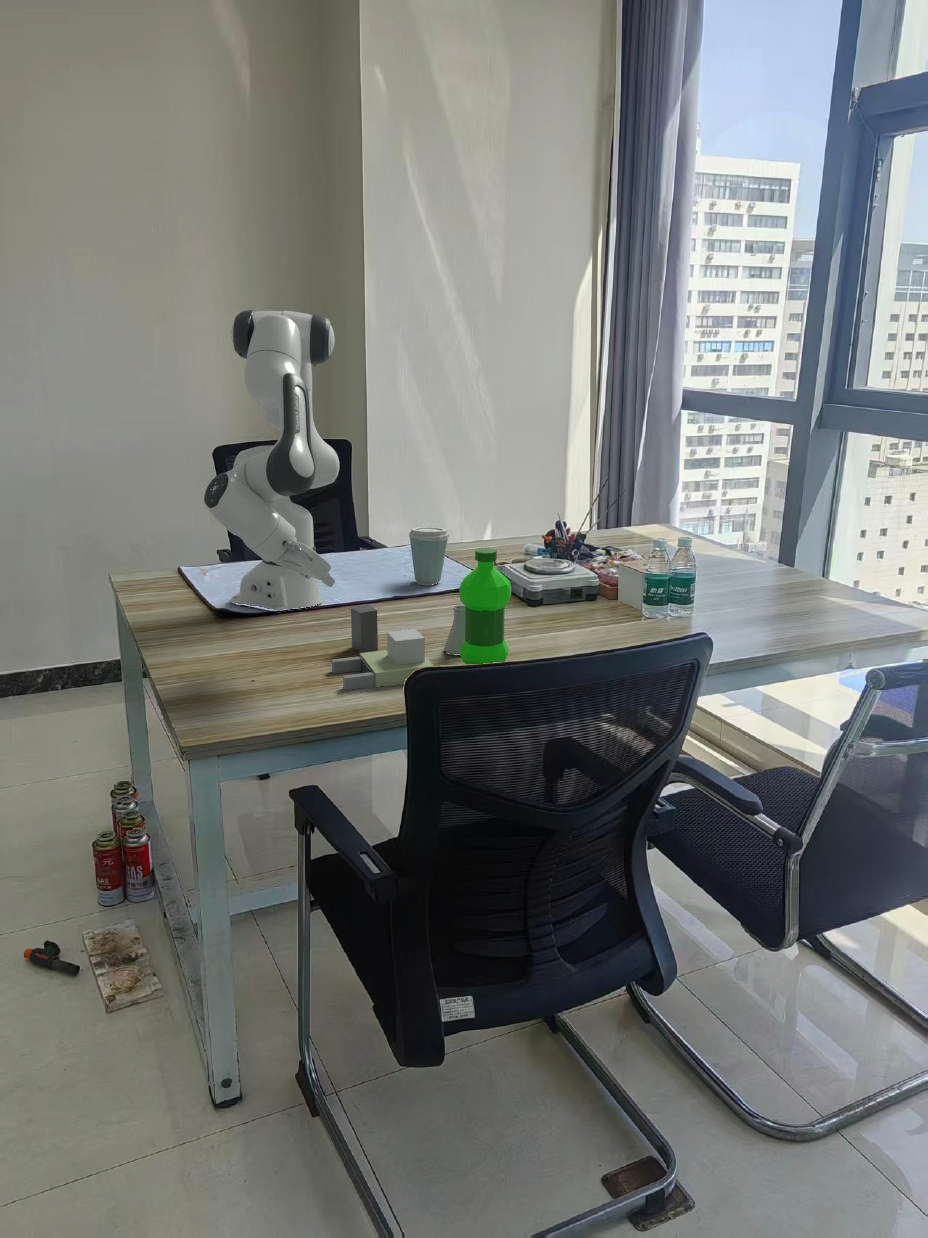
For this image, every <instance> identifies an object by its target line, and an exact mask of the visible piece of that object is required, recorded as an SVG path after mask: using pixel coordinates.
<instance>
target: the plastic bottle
mask: <svg viewBox="0 0 928 1238" xmlns="http://www.w3.org/2000/svg"><path fill="white" fill-rule="evenodd" d="M497 554H498V550H497V549H495V548H490V547H480V548H477V549H475V551H474V558H475V561H477V567H475V568H474V569H473V570H472V571H470V572H469V573H468V574H467V575H466V576H465V577H464V578H463V580H462V581H461V583H460V585H459V588H458V594H459V595H458V596H459V601H460V603H462V605H465V606H466V614H465V641H464V643H463V645H462V648H461V650H460V656H459V657H460V658H461V660H462V662H463V663H464V664H465V665H466V664H483V663H493V662H505V663H506V661H507V657H508V655H509V647H508V643H507V641H506V640H505V608H506V607H507V605H508V604H509V602H510V599H511V596H512V584H511V582H510V580H509V579H508V578H507V577H506V576H505V575H504V574H503V573H502V572H500V571H499V570H498V569H496V567H495V562H496V561H497V560H498V557H497V556H498V555H497Z"/></svg>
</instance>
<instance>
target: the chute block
mask: <svg viewBox="0 0 928 1238" xmlns="http://www.w3.org/2000/svg"><path fill="white" fill-rule="evenodd" d="M350 617H351V618H350V619H351V620H350V622H351V623H350V624H351V648H353V649H354V650H356V651H357V652H359V654H360V653H366V652H375V651H379V643H378V642H379V638H378V637H379V636H378V634H379V633H378V632H379V631H378V610H377V609H376V608H374V607H372V606H371V605H368V604H365V605H360V606H359V605H357V606H352V607H350Z"/></svg>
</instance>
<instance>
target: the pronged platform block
mask: <svg viewBox="0 0 928 1238" xmlns="http://www.w3.org/2000/svg"><path fill="white" fill-rule="evenodd" d="M425 639H426V638H425V637H424V636H423V635H422V634H421V632H419V631H418V629H416V628H411V629H401V630H392V631H387V632H386V641H387V644H386V646H387V647H386V648H387V650H386V649H385V650H375V651H370V652H365V653H360V652H359V656H352V657H344V658H343V657H341V658H335V659H331V672H332V673H333V675H335V674H343V673H351V672H358V671H359V672H360V671H361V672H362V673H356V674H354V673H353V674H346V675H343V676H342V686H343V689H344V691H351V690H352V689H353V690H358V688H361V689H367V688H381V687H380V686H384V687H391V686H398V684H400V685H404V684H403V683H404V682H405V679H406V678H408V676H409V675H411V673H412V672H413V671H415V670H417V669H419V668H421V667H427V666H434V667H435V665H434V664H433V663H432V662H431V660H429V659H428V658H427V657H426V655H425V654H426V653H425V652H426V647H425V644H426V643H425V642H426V640H425ZM374 686H376V687H374Z"/></svg>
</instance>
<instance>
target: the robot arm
mask: <svg viewBox="0 0 928 1238" xmlns="http://www.w3.org/2000/svg"><path fill="white" fill-rule="evenodd" d="M230 333H231V335H230V336H231V342H232V345H233V348H234V352H236V354H237V355H238V356H239V357H241V358H242V359H245V368H244V383H245V388H246V390H247V392H248V394H249V395H250V396H251V397H252V398H253V399H254V400H255V401H256V402H258V403H260V404H262V405H263V416H264V419H265V421H266V423H268V425H269V426H271V427H272V428H274V429H276V430H277V431H279V438H278V440H276V443H275V444H274V445H272V444H271V445H259V446H254V447H250V448H248V449H244V450H242V451H239V453H238V454H237V455H236V457H235V458H234V462H233V468H232V469H230V470H228V471H226V472H221V473H218V474H217V475H216V476H214V477H213V478H212V479H211V481H210V482H209V484H208V485H207V486H206V489H205V492H204V494H203V495H204V496H203V501H204V504H205V507H206V508H207V510H208V511H209V513H210V514H211V515H212V517H214V519H216V520H217V522H218V523H219V524H221V525H222V526H223V527H224V528H225V529H226V530H227V531H229V532H230V533H231V535H232V534H233V535H234V536H236V537H239V538H240V539H241V540H242V541H243V543H244V545H246V547H247V548H249V549H250V550H251V551H252V552H254V554H256V555H257V556H258V557H260V558H261V561H260V562H259V563H257V564H256V565H255V566H253V568H252V569H250V570H249V571H248V572H246V574H244V575H243V577H242V578H241V581H240V586H239V591H238V592H236V593H235V594H234V595H233V596H232V597H231V599H230V602H231V601H232V602H234V603H238V604H247V605H250V606H259V607H264V608H267V609H273V610H278V611H280V610H284V609H293V608H301V607H305V609H307V608H306V607H310V606H313V607H316V606H318V605H321V604H322V602H323V601H322V600H323V597H322V594H321V591H320V588H319V583H318V580H319V581H321V583H323V584H324V585H325V586H327V587H329V588H332V587H333V586H334V585H335V583H336V580H335V578H333V577H332V576H331V574H330V571H331V570H332V566H331V564H330V563H329V562H328V561H327V560H326V559H325V558H323V557H322V556H321V555H320V554H319V553H318V552H317V551H316V550H317V549H316V548H317V547H316V545H315V544H314V543H315V542H314V521H313V519H314V518H313V516H312V514H311V513H310V511H309V510H308V509H306V508H305V507H303V506H301V505H300V504H296V503H294V502H292V500H291V499H290V497H291V496H295V495H301V494H303V493H306V492H307V491H309V490H311V489H317V488H321V487H325V486H327V485H330V484H332V483H334V482H335V481H336V480H337V477H338V476H339V471H340V460H339V456H338V453H337V451H336V450H335V449H334V448H333V447H332V446H331V445H329V444H328V443H327V442H326V441H325V440H323V438H322V437H321V436H320V434H319V432H318V431H317V428H316V425H315V423H314V422H315V421H314V412H313V372H312V371H313V369H312V366H313V367H317V366H318V365H321V364H324V363H325V362H327V361H329V359H330V358H331V355H332V353H333V351H334V348H335V344H336V343H335V341H336V340H335V339H336V338H335V332H334V329H333V325H332V322H331V320H329V319H328V317H326V316H323V315H320V314H317V313H316V314H315V313H313V314H309V313H305V312H301V311H300V312H298V311H292V310H281V311H280V310H259V311H258V310H255V309H250V310H243V311H240V312H239V313H238V314H237V315H236V316H235V318H234V321H233V323H232V327H231V331H230ZM317 604H318V605H317ZM315 605H316V606H315ZM310 608H311V607H310Z"/></svg>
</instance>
